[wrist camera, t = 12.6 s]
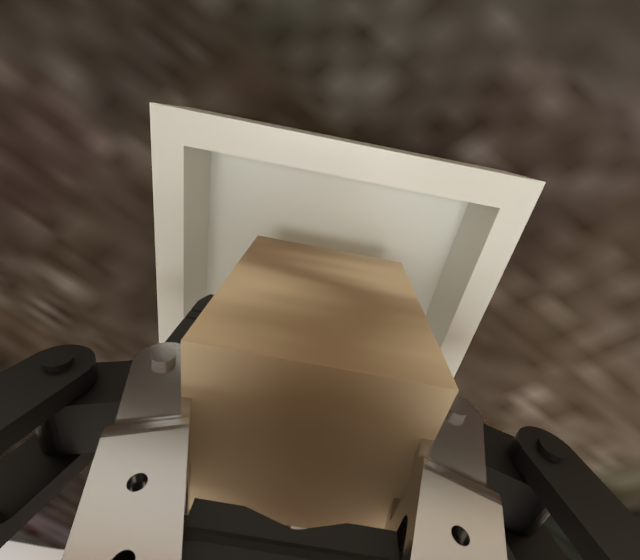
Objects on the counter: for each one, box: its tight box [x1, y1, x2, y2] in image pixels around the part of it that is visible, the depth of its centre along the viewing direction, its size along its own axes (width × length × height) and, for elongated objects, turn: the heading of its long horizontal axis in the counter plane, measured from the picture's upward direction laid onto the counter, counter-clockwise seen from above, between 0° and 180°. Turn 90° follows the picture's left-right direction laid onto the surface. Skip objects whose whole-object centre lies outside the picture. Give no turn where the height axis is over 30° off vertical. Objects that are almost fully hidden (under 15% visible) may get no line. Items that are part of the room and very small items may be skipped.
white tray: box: [150, 102, 546, 378], centre depth 14 cm, size 12×12×3 cm
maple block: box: [181, 236, 459, 529], centre depth 10 cm, size 5×5×6 cm
